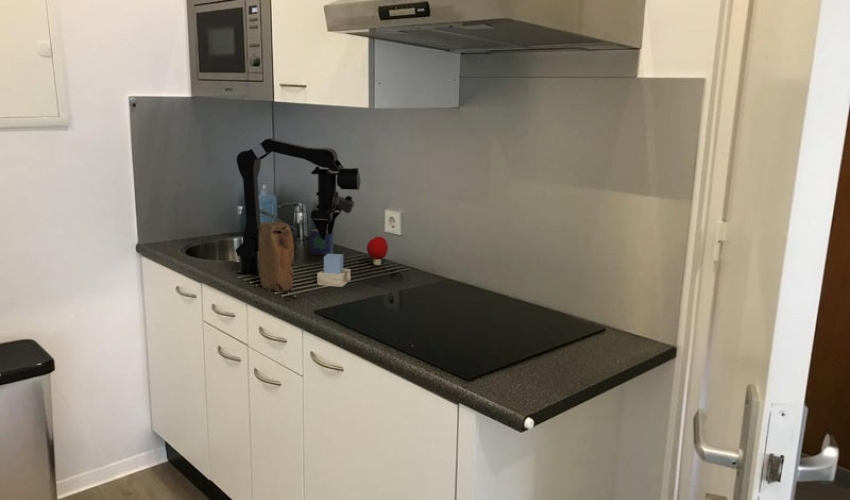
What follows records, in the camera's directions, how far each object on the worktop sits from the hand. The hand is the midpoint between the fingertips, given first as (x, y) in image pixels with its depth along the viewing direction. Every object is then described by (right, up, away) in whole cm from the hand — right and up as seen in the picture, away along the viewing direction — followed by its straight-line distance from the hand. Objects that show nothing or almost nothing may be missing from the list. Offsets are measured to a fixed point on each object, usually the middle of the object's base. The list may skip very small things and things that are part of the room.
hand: (327, 236), depth 218 cm
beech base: (+3, -15, -5) cm, 16 cm away
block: (-13, -16, -13) cm, 25 cm away
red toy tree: (+15, -10, +17) cm, 25 cm away
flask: (-7, -6, +33) cm, 34 cm away
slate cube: (+3, -11, -6) cm, 13 cm away
